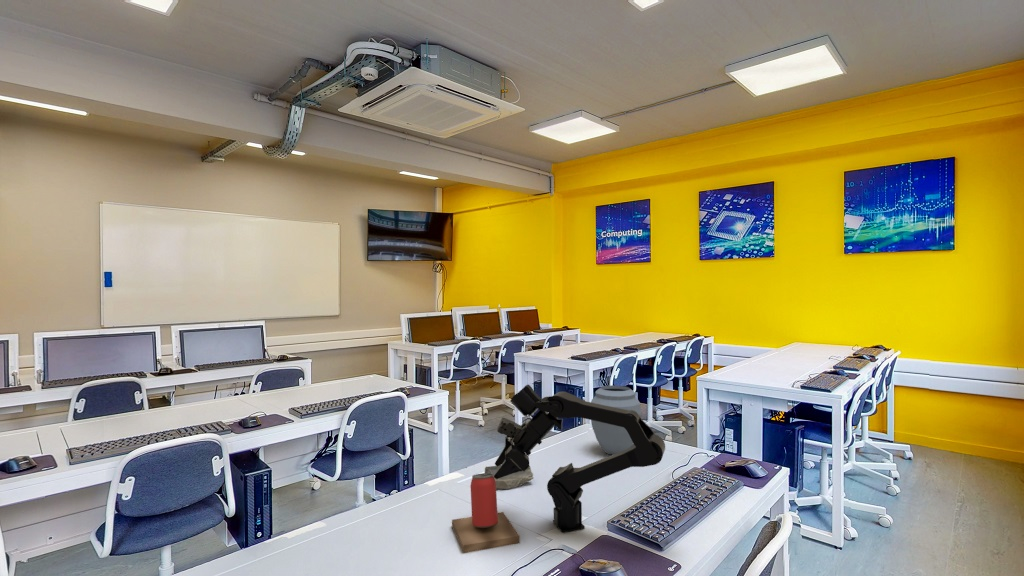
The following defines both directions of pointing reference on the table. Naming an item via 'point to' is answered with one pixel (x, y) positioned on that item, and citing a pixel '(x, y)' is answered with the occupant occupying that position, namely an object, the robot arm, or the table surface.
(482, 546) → the walnut block
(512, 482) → the grey irregular stone
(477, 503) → the beer can
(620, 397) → the vase
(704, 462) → the table surface
